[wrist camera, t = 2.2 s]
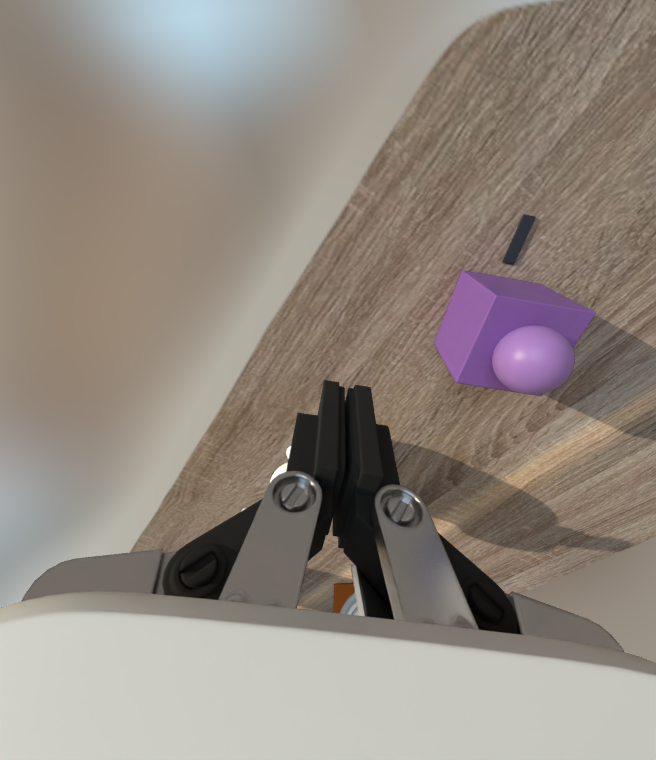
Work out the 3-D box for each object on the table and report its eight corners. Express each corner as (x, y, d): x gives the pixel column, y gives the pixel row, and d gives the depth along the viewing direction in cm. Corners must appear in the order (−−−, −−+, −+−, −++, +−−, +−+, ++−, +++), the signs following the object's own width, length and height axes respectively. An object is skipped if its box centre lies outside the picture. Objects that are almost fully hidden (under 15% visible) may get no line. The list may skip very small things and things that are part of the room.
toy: (461, 269, 22) (524, 315, 14) (540, 283, 22) (644, 336, 15) (433, 343, 25) (472, 413, 18) (502, 355, 26) (571, 428, 18)
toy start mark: (523, 214, 20) (524, 214, 20) (535, 216, 20) (535, 216, 20) (502, 261, 22) (503, 261, 22) (513, 263, 22) (513, 263, 22)
